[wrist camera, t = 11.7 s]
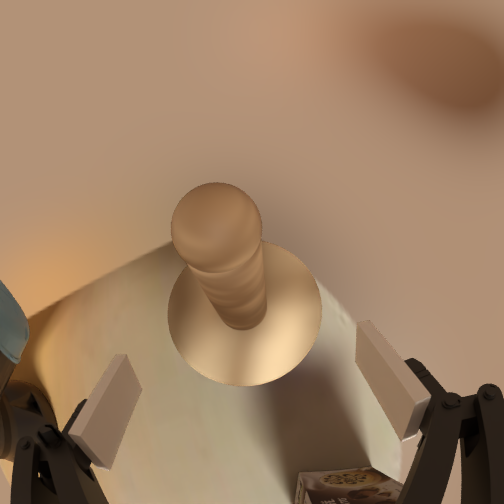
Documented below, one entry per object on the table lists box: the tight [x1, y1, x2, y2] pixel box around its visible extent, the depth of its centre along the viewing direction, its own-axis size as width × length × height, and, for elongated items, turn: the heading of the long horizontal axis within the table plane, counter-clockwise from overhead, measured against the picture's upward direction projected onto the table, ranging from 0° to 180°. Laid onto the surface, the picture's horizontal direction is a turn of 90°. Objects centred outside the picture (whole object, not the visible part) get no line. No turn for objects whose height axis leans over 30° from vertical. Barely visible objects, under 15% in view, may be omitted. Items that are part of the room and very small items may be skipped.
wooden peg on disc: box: [168, 183, 322, 386], centre depth 17 cm, size 13×13×15 cm
